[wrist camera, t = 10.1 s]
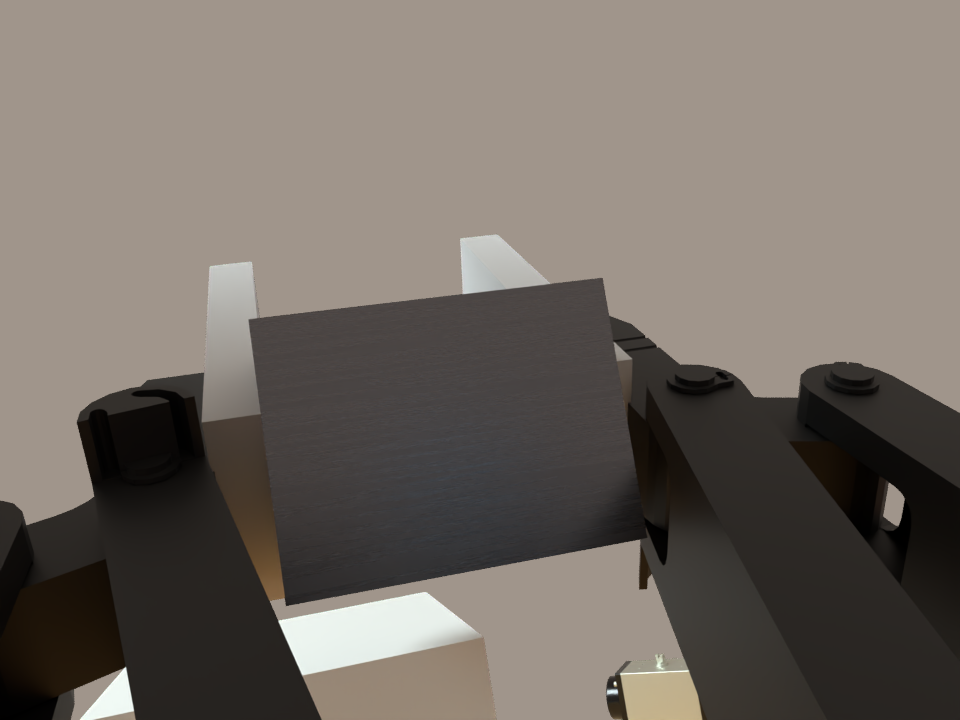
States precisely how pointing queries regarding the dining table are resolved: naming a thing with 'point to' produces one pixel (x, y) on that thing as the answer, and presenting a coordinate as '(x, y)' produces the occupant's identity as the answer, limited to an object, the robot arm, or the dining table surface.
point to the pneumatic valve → (653, 691)
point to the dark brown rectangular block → (443, 436)
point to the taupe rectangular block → (374, 664)
